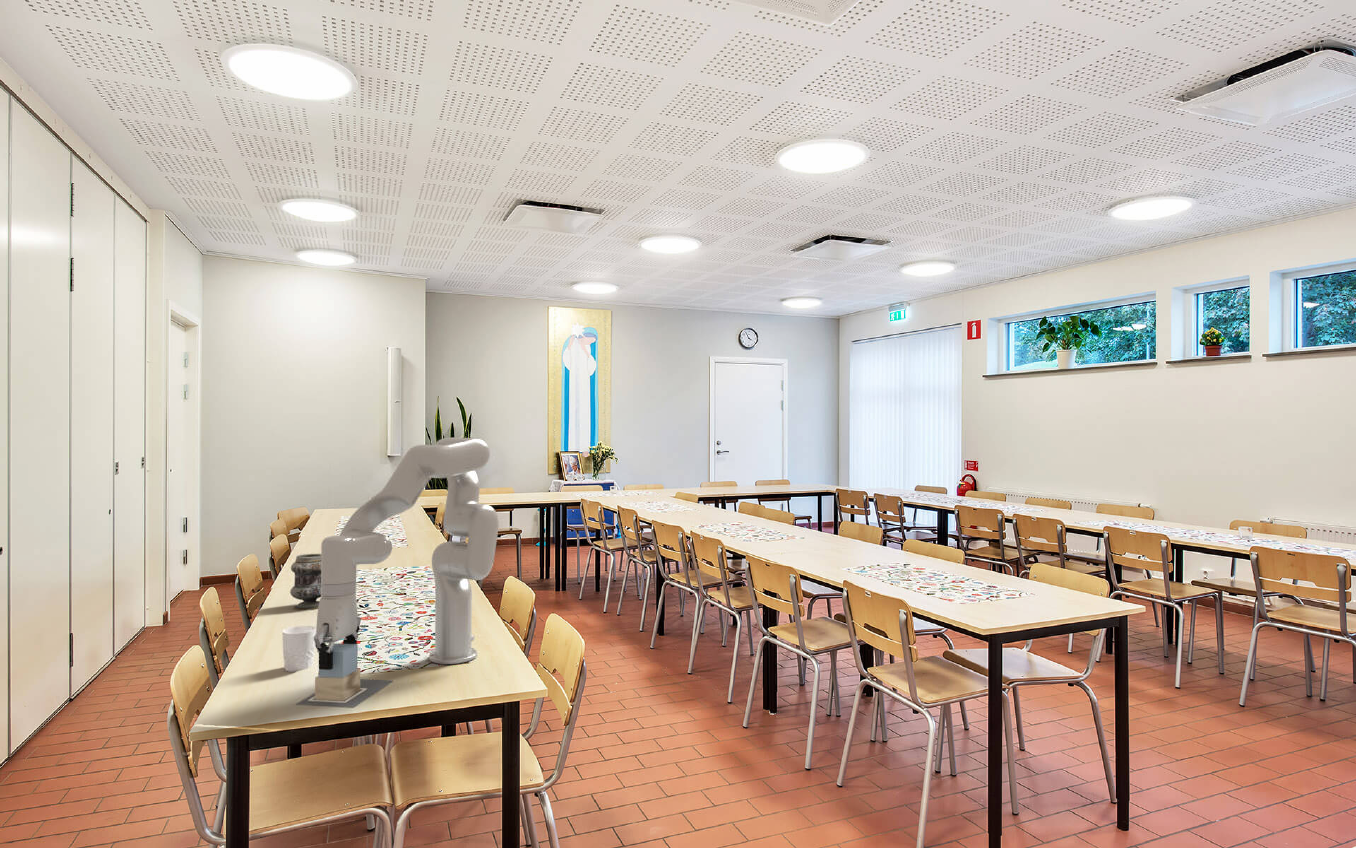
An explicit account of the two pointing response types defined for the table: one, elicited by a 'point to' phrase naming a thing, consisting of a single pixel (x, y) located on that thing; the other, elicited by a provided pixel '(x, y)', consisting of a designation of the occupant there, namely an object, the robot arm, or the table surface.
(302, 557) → the apothecary jar
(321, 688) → the base block
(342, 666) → the blue block
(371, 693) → the mat
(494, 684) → the table surface
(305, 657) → the white cup
